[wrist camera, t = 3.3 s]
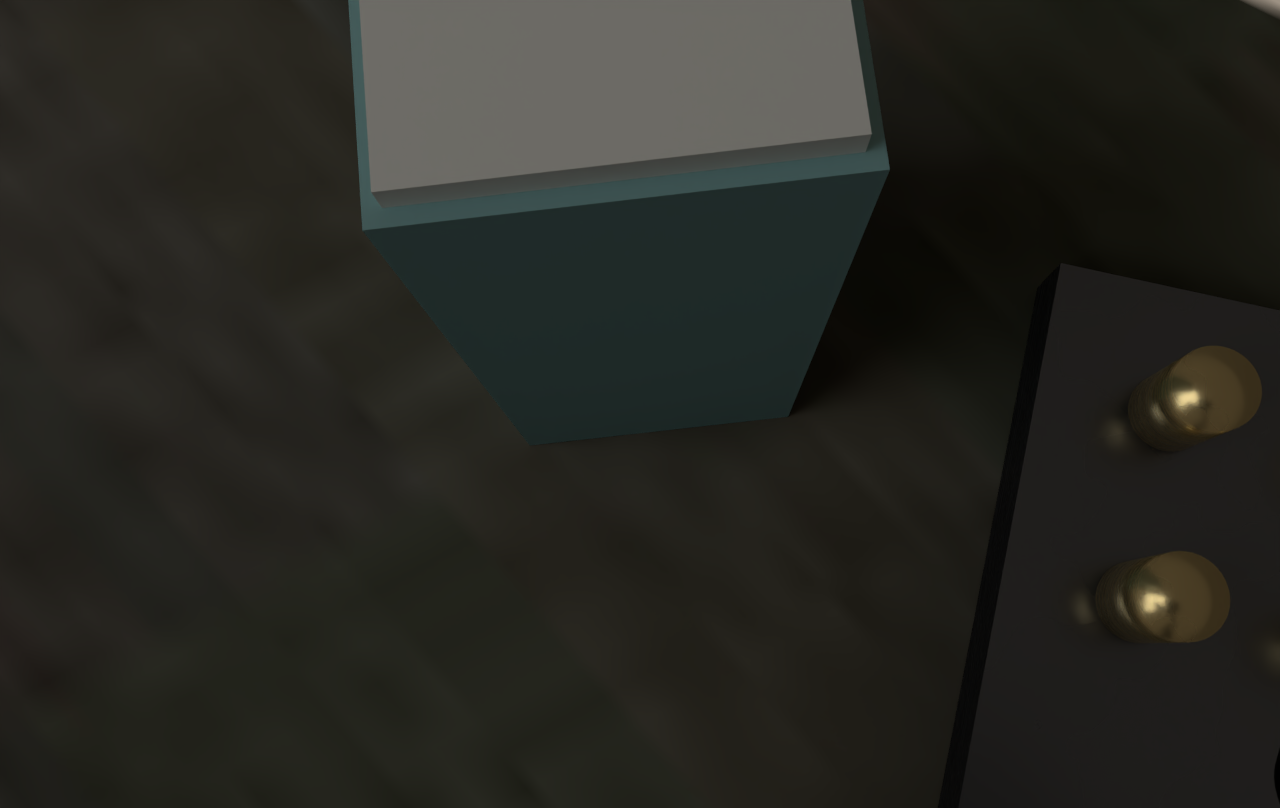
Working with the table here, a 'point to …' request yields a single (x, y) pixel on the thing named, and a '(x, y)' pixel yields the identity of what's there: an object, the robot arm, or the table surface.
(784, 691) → the table surface
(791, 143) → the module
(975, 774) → the chassis
